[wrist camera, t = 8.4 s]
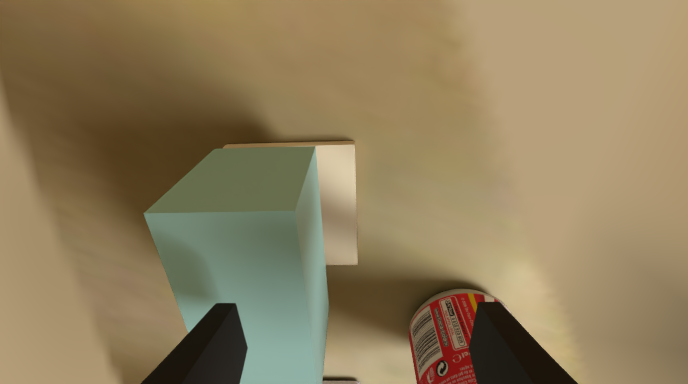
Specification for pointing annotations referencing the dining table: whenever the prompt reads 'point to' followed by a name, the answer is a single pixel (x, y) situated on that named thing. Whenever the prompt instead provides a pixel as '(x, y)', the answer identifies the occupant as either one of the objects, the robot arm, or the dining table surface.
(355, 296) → the dining table surface
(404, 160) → the dining table surface
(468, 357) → the soda can
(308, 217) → the block
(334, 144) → the stand
